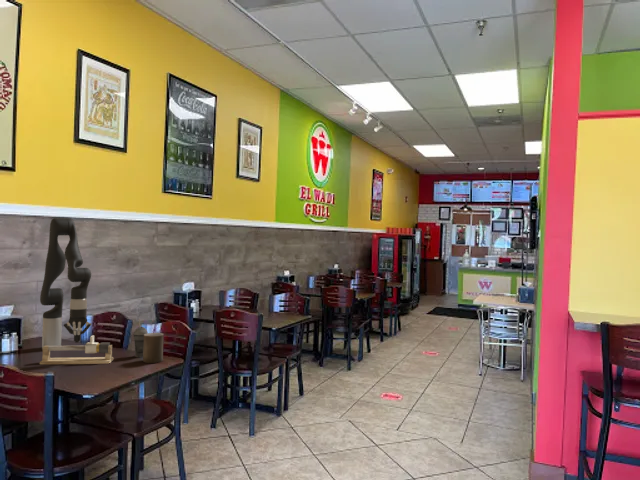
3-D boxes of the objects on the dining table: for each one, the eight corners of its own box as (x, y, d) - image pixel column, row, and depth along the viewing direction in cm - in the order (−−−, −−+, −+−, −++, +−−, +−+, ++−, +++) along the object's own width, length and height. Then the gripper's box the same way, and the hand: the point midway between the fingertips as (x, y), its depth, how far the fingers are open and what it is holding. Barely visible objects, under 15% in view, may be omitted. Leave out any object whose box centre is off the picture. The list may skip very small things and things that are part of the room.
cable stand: (45, 360, 244) (46, 342, 244) (113, 359, 250) (113, 341, 250) (39, 364, 236) (40, 345, 236) (109, 363, 242) (110, 345, 242)
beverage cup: (142, 358, 254) (143, 320, 254) (129, 357, 255) (131, 319, 255) (150, 355, 261) (151, 318, 261) (137, 354, 262) (138, 317, 262)
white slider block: (87, 351, 246) (88, 335, 246) (98, 351, 247) (98, 335, 247) (85, 353, 241) (85, 337, 241) (95, 353, 242) (96, 336, 242)
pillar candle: (159, 363, 245) (160, 333, 245) (140, 363, 244) (141, 333, 244) (164, 359, 255) (166, 330, 255) (146, 358, 254) (147, 329, 254)
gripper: (94, 306, 248) (93, 340, 248) (66, 306, 245) (65, 340, 246) (90, 308, 241) (89, 343, 241) (61, 308, 238) (60, 344, 238)
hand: (77, 342), depth 243 cm, fingers closed
